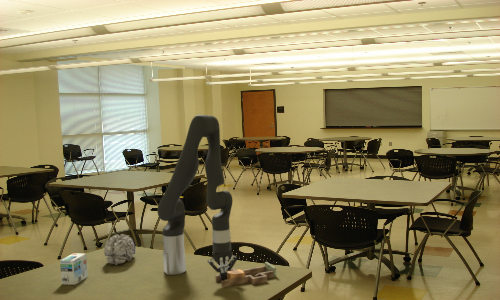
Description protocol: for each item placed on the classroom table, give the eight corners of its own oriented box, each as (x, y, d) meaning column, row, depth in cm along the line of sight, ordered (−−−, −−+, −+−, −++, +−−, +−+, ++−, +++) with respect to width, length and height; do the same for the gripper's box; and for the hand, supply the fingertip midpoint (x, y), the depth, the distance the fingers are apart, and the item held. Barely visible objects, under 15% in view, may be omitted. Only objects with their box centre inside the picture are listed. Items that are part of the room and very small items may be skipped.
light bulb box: (75, 285, 199) (73, 260, 198) (61, 284, 200) (59, 260, 199) (88, 276, 209) (86, 253, 208) (75, 276, 211) (73, 252, 210)
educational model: (137, 269, 235) (140, 238, 240) (127, 263, 216) (130, 230, 222) (110, 269, 235) (113, 239, 241) (97, 263, 217) (101, 230, 222)
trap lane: (225, 290, 185) (225, 280, 184) (212, 278, 199) (212, 269, 199) (280, 279, 194) (279, 269, 194) (263, 268, 209) (263, 259, 208)
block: (231, 284, 191) (230, 275, 191) (227, 280, 195) (226, 271, 195) (244, 282, 193) (244, 272, 193) (240, 278, 198) (240, 269, 197)
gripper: (233, 235, 197) (235, 275, 199) (203, 240, 192) (205, 280, 194) (239, 239, 190) (241, 280, 192) (209, 244, 185) (211, 286, 187)
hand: (223, 280), depth 193 cm, fingers closed
